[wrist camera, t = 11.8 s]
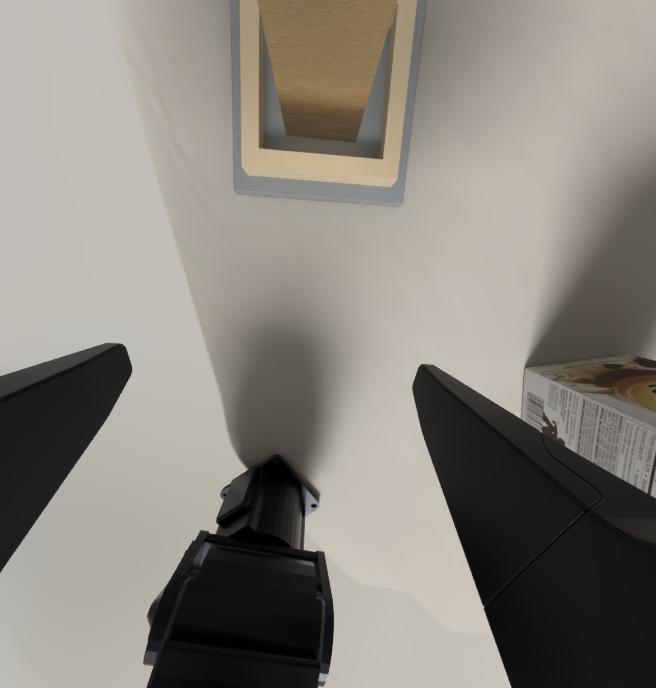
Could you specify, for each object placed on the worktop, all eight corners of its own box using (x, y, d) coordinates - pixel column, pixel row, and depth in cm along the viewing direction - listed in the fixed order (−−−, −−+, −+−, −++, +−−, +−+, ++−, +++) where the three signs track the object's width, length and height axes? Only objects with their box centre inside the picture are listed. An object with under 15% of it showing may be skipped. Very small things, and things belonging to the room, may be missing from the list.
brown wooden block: (355, 142, 17) (417, -71, 7) (286, 135, 17) (236, -99, 6) (362, 58, 16) (449, -351, 6) (288, 49, 16) (234, -398, 5)
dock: (398, 206, 19) (409, 196, 17) (238, 194, 19) (226, 181, 16) (420, 7, 17) (438, -39, 14) (235, -15, 16) (220, -67, 14)
